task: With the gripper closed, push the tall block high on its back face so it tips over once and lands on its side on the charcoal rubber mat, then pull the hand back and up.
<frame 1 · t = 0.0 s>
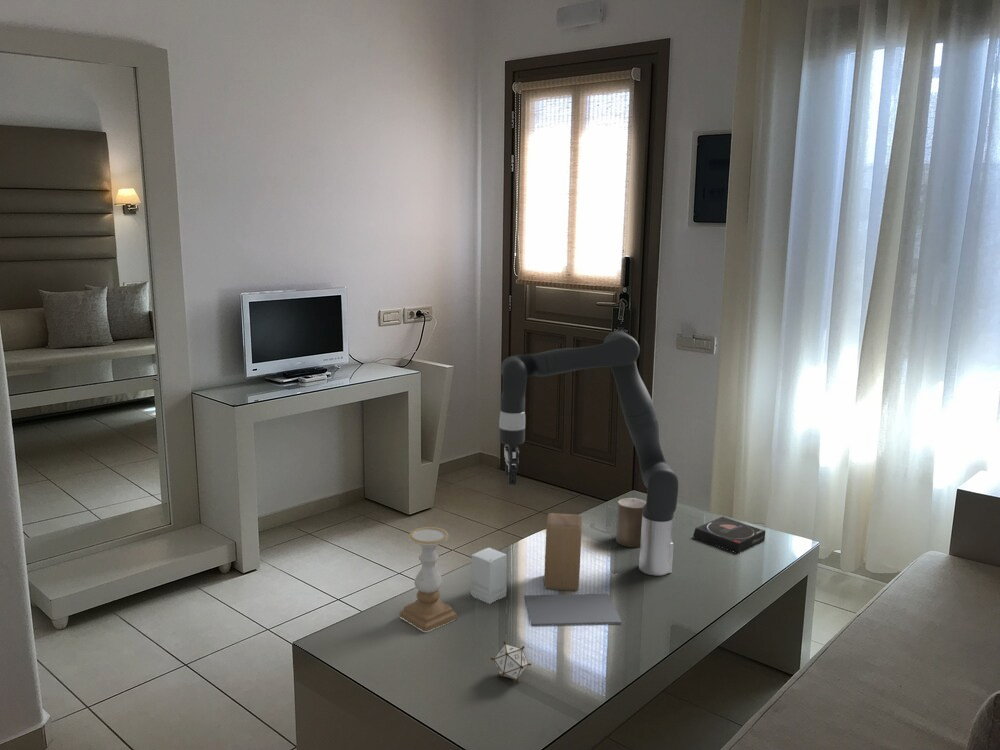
hand: (510, 479, 235), 29 cm above the table, fingers open, 8 cm apart
supplement box: (488, 596, 226), on the table
game die: (510, 677, 187), on the table
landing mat: (571, 609, 219), on the table
portable cd player: (728, 540, 270), on the table
pillar candle: (630, 542, 265), on the table
candle holder: (428, 619, 212), on the table
block: (561, 583, 234), on the table
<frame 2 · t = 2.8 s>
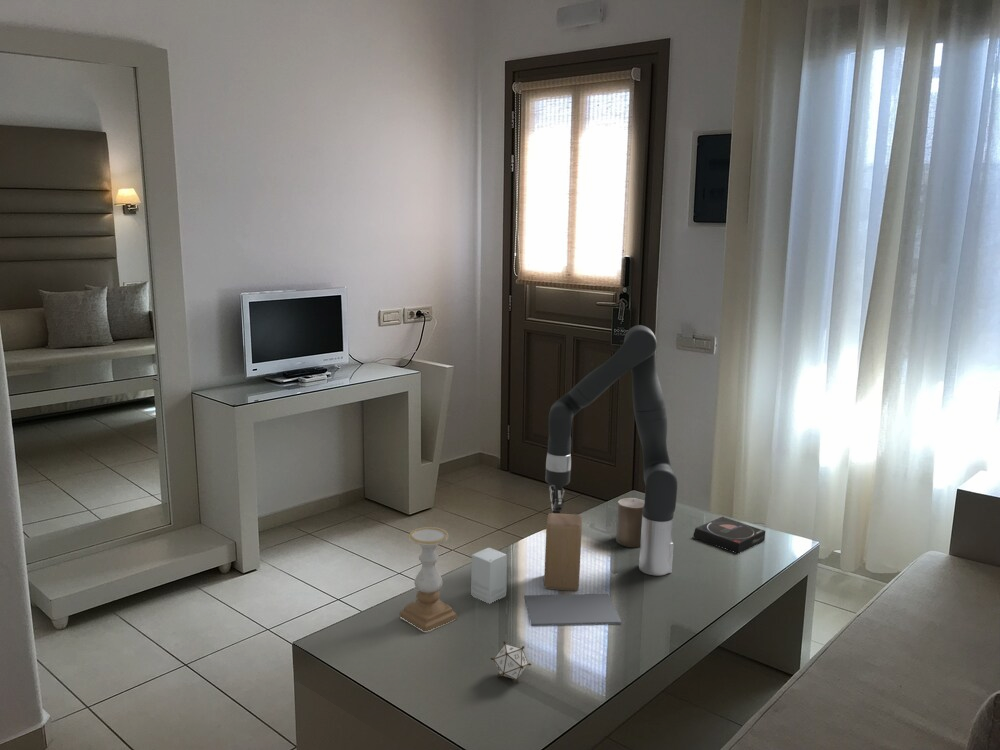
hand: (555, 521, 245), 14 cm above the table, fingers closed
nothing on the table moved.
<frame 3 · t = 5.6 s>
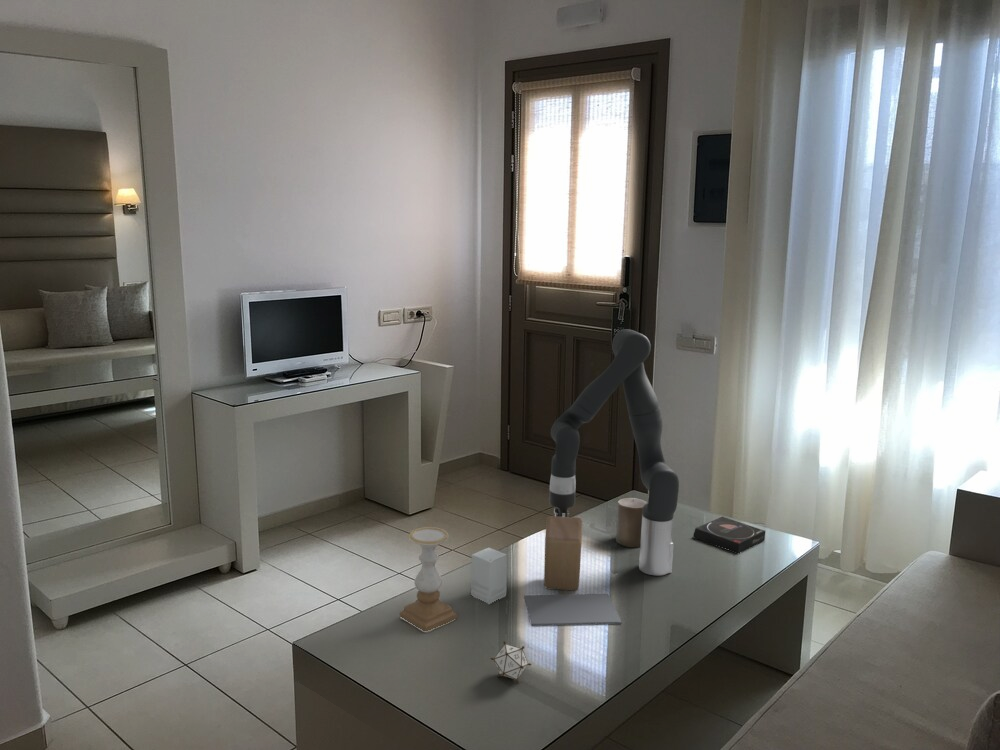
hand: (560, 544, 237), 10 cm above the table, fingers closed
block: (561, 578, 234), point 2 cm above the table
everything else where it was.
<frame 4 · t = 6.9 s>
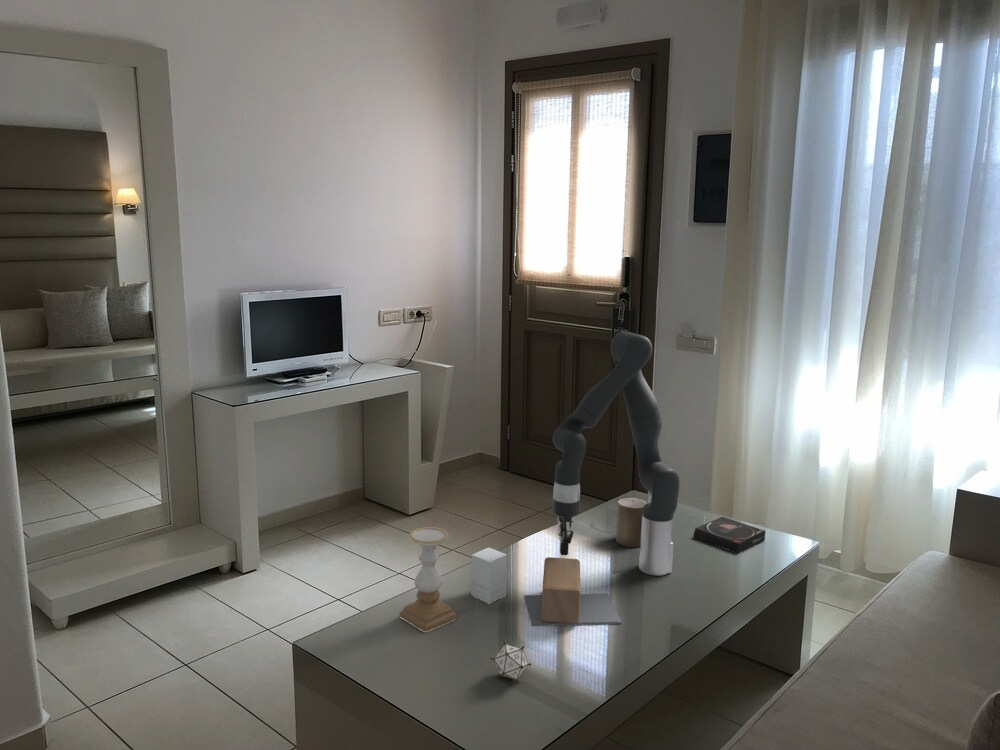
hand: (563, 554, 230), 10 cm above the table, fingers closed
block: (561, 572, 228), point 6 cm above the table, touching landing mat
everything else where it was.
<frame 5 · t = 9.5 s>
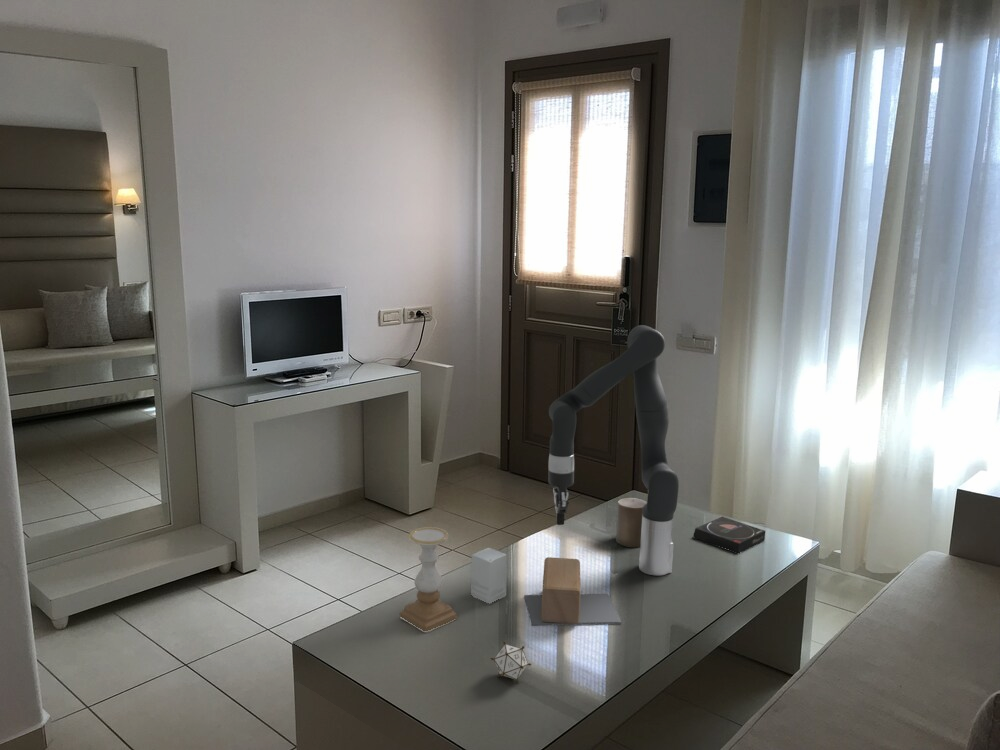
hand: (560, 523, 238), 16 cm above the table, fingers closed
nothing on the table moved.
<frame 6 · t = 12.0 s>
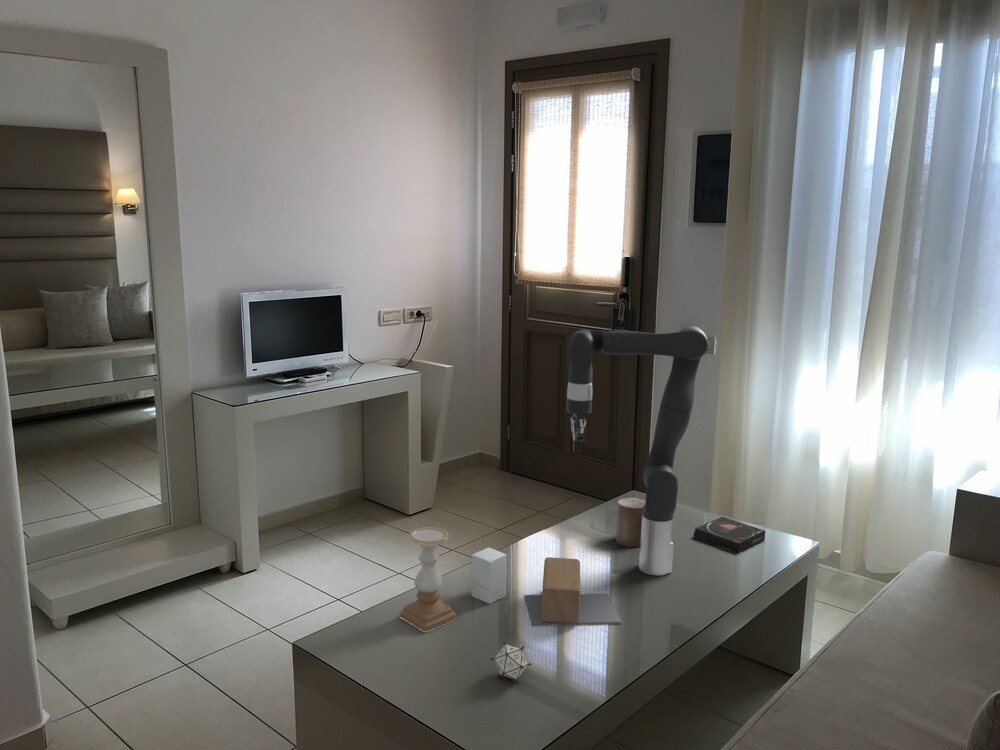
hand: (577, 452, 243), 35 cm above the table, fingers closed
nothing on the table moved.
at the end: block tilted 90°; block touching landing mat; block point 5.6 cm above the table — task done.
